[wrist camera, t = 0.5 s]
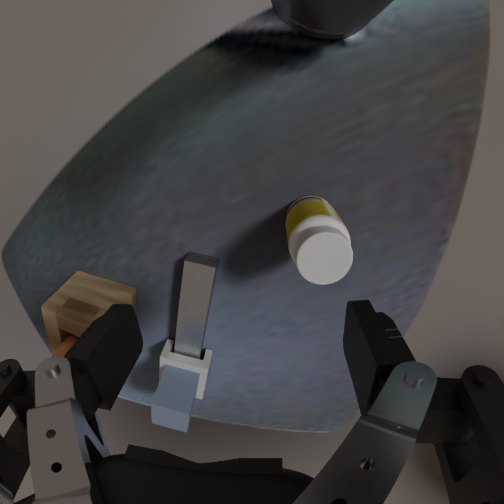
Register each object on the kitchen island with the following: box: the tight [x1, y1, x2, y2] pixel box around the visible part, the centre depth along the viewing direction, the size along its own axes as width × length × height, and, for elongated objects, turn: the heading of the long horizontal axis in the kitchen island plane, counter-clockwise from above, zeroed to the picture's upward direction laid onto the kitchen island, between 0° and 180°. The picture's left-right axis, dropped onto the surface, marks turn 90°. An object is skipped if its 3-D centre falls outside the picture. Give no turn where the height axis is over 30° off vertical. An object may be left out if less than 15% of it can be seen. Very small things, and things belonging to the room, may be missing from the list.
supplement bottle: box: [285, 196, 353, 285], centre depth 24 cm, size 5×5×8 cm
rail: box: [174, 252, 219, 359], centre depth 33 cm, size 18×3×2 cm, turn 167°
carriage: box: [151, 339, 213, 432], centre depth 32 cm, size 6×6×9 cm
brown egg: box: [52, 336, 78, 357], centre depth 25 cm, size 3×3×3 cm
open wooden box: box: [41, 271, 137, 355], centre depth 30 cm, size 8×8×8 cm
